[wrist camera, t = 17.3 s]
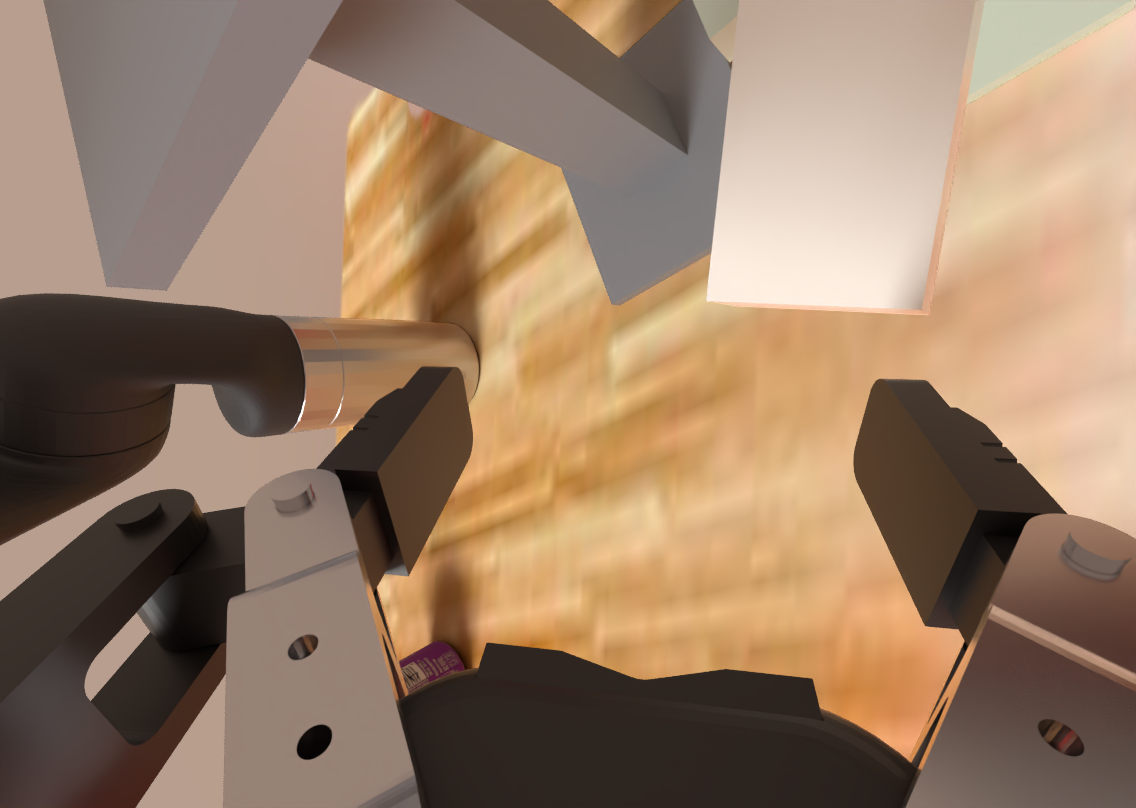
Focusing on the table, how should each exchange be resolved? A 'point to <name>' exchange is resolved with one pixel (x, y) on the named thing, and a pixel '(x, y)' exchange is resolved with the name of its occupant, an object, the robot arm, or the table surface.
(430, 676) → the beverage can
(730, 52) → the low shelf
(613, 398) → the table surface
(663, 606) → the table surface
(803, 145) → the pale pink beam
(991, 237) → the table surface
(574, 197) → the high shelf
